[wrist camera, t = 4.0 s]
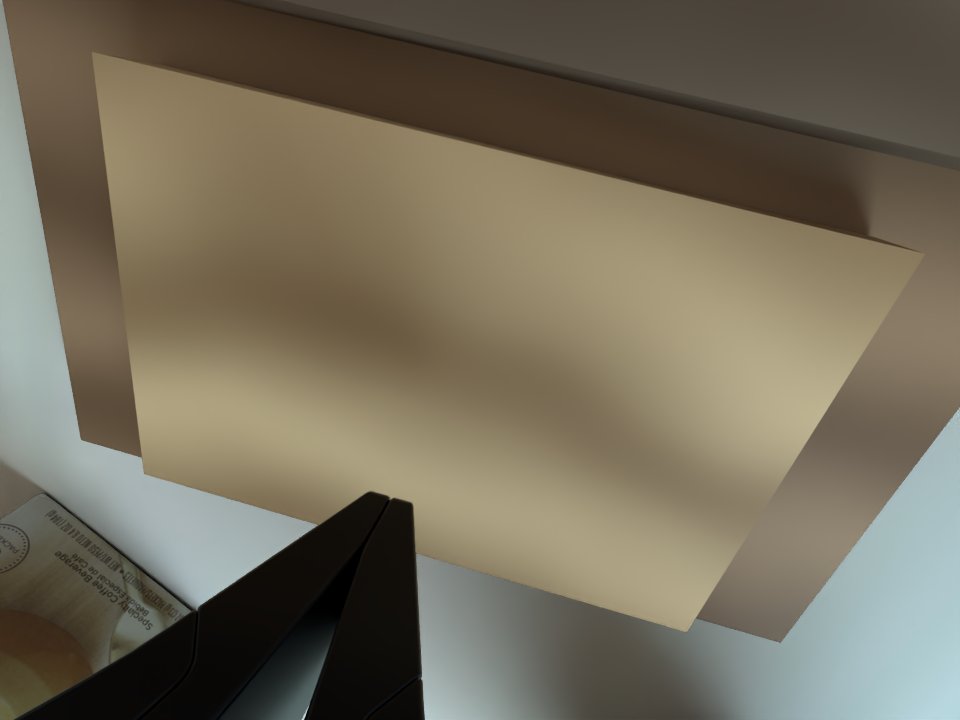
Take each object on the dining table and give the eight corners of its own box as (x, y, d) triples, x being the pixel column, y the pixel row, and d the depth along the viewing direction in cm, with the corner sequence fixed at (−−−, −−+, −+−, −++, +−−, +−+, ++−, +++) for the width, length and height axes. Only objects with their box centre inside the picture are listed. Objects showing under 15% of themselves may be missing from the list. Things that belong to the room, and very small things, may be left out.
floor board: (761, 598, 15) (808, 708, 12) (120, 415, 17) (23, 475, 14) (1158, 24, 9) (1464, -37, 6) (37, -213, 10) (-188, -364, 7)
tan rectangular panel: (674, 583, 14) (686, 632, 12) (183, 442, 15) (144, 473, 13) (874, 236, 9) (925, 253, 8) (154, 63, 10) (91, 52, 9)
